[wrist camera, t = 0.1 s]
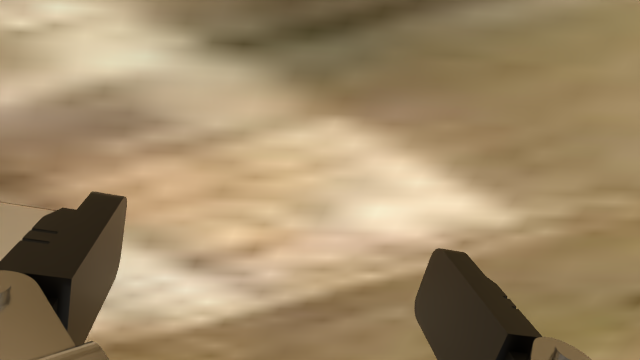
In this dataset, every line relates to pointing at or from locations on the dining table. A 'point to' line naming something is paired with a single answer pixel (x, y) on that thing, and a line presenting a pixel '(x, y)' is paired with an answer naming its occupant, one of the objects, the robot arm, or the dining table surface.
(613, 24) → the dining table surface
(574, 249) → the dining table surface
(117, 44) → the dining table surface
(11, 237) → the tall beige cuboid
